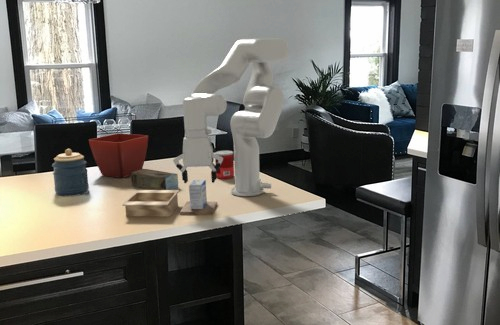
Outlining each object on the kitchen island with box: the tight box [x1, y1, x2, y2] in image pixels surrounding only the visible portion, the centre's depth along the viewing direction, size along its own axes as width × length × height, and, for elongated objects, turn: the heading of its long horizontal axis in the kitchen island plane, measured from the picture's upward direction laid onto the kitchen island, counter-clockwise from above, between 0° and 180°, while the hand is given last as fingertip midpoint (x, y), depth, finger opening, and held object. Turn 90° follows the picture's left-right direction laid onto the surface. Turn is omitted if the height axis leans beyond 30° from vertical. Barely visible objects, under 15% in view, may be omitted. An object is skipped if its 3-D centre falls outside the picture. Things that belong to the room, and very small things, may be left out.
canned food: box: [214, 150, 235, 180], centre depth 233 cm, size 8×8×11 cm
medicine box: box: [188, 179, 208, 209], centre depth 188 cm, size 8×4×9 cm, turn 174°
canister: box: [51, 148, 90, 197], centre depth 213 cm, size 13×13×18 cm
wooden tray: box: [122, 189, 180, 217], centre depth 188 cm, size 15×18×5 cm
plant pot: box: [88, 132, 149, 179], centre depth 243 cm, size 19×19×17 cm
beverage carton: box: [130, 168, 179, 190], centre depth 220 cm, size 8×19×7 cm, turn 58°
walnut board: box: [179, 201, 218, 216], centre depth 189 cm, size 11×12×1 cm
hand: (199, 181), depth 188 cm, fingers open, 9 cm apart
